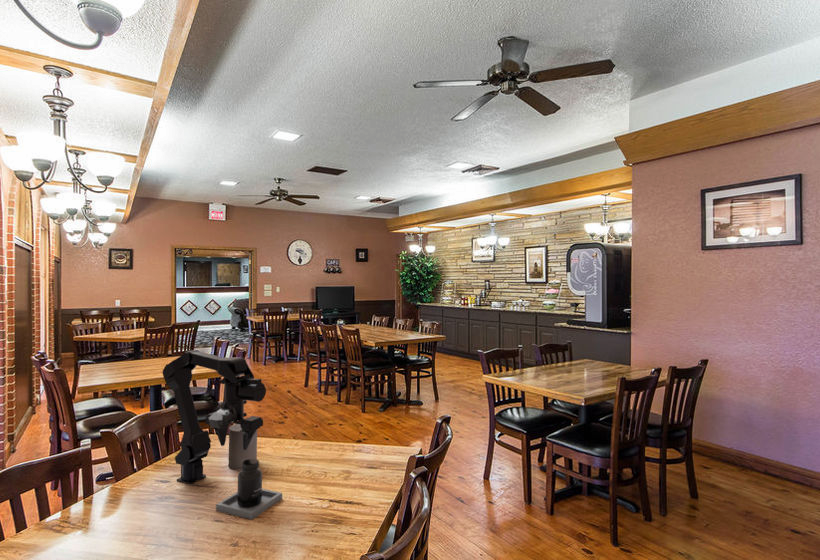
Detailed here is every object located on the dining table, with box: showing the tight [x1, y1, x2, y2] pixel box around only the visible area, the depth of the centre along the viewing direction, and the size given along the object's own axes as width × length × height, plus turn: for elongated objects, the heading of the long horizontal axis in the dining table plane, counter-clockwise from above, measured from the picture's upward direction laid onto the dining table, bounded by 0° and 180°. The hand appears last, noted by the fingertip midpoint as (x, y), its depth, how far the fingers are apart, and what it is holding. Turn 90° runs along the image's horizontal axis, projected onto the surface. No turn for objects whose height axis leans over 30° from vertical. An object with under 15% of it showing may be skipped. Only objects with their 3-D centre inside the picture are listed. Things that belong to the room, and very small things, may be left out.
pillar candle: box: [227, 423, 258, 471], centre depth 161 cm, size 10×10×15 cm
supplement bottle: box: [237, 458, 263, 508], centre depth 132 cm, size 7×7×12 cm
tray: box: [215, 488, 283, 521], centre depth 132 cm, size 13×13×2 cm
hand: (233, 447), depth 142 cm, fingers open, 9 cm apart
